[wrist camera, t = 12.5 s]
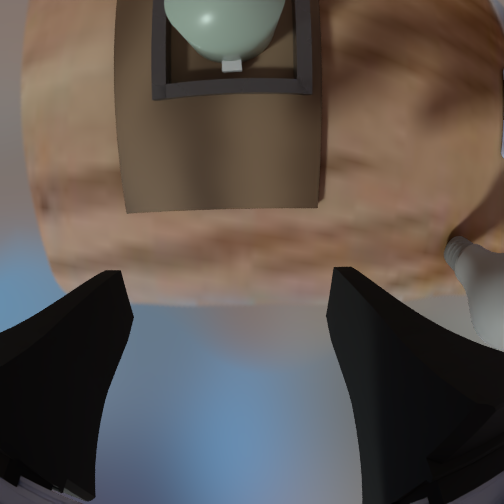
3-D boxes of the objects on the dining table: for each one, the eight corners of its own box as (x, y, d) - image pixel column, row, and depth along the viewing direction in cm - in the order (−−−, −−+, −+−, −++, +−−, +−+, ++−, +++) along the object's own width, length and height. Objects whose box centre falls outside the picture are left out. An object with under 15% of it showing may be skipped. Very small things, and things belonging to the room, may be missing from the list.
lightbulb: (463, 195, 17) (566, 264, 8) (482, 247, 20) (560, 321, 10) (410, 243, 19) (497, 343, 10) (435, 290, 21) (501, 382, 12)
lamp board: (313, -30, 11) (315, -34, 10) (315, 205, 18) (317, 208, 17) (122, -16, 11) (119, -19, 10) (129, 210, 18) (126, 213, 17)
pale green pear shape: (277, 71, 14) (290, 54, 9) (189, 77, 14) (165, 63, 9) (271, -16, 11) (280, -56, 6) (186, -10, 11) (165, -47, 6)
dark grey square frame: (303, -26, 10) (307, -35, 9) (307, 95, 14) (312, 94, 13) (160, -20, 10) (155, -27, 9) (158, 100, 14) (152, 100, 13)
